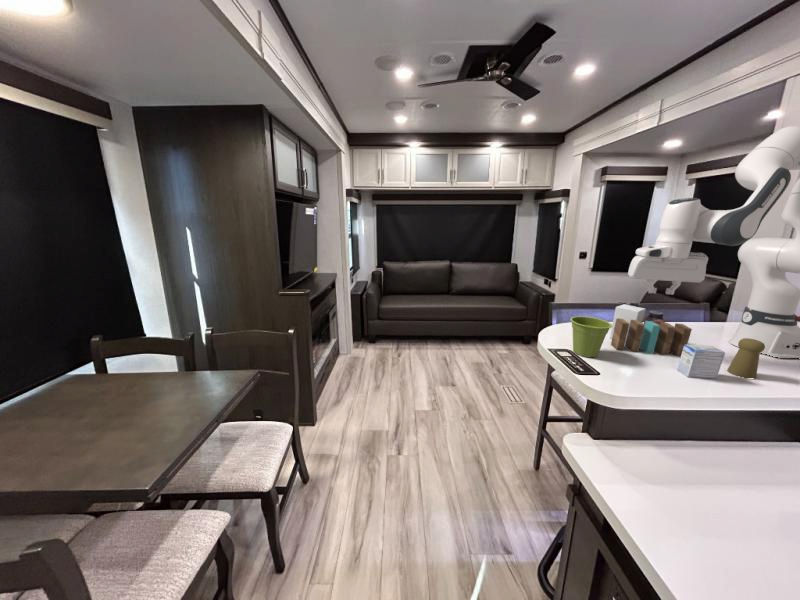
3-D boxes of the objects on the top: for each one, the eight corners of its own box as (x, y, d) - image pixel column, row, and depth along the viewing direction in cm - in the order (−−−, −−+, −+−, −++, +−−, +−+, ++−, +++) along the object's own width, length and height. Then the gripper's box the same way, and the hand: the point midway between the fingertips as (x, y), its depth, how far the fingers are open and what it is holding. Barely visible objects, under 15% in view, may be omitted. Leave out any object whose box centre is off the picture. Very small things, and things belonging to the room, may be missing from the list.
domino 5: (674, 351, 110) (682, 323, 107) (683, 357, 105) (691, 329, 102) (668, 350, 110) (675, 323, 107) (676, 356, 105) (684, 328, 103)
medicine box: (704, 372, 95) (712, 345, 93) (717, 379, 91) (726, 351, 88) (676, 370, 96) (683, 343, 93) (687, 377, 91) (695, 350, 89)
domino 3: (645, 348, 112) (652, 321, 109) (653, 353, 107) (660, 326, 104) (639, 347, 112) (645, 320, 109) (646, 353, 107) (653, 325, 105)
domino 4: (659, 349, 111) (667, 322, 108) (668, 355, 106) (675, 327, 103) (653, 348, 111) (660, 322, 108) (661, 354, 106) (668, 326, 104)
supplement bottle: (647, 337, 122) (654, 309, 119) (663, 343, 116) (671, 314, 113) (635, 338, 120) (642, 310, 117) (651, 344, 114) (659, 315, 111)
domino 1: (616, 345, 113) (622, 318, 111) (623, 350, 109) (629, 323, 106) (610, 344, 114) (616, 318, 111) (616, 350, 109) (622, 322, 106)
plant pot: (598, 348, 110) (605, 318, 107) (610, 363, 99) (618, 329, 96) (561, 344, 113) (566, 314, 110) (569, 358, 102) (575, 325, 99)
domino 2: (631, 346, 112) (637, 320, 110) (637, 352, 108) (644, 324, 105) (624, 345, 113) (630, 319, 110) (631, 351, 108) (637, 324, 105)
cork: (750, 380, 91) (763, 345, 88) (722, 371, 96) (734, 337, 93) (760, 376, 93) (772, 342, 90) (732, 367, 98) (744, 334, 95)
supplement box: (639, 340, 118) (647, 308, 115) (630, 344, 114) (638, 311, 111) (617, 334, 124) (624, 303, 121) (608, 338, 120) (615, 306, 116)
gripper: (702, 252, 101) (691, 293, 105) (630, 249, 105) (622, 289, 109) (716, 254, 95) (704, 298, 99) (640, 251, 99) (630, 293, 103)
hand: (660, 293), depth 104 cm, fingers open, 4 cm apart
